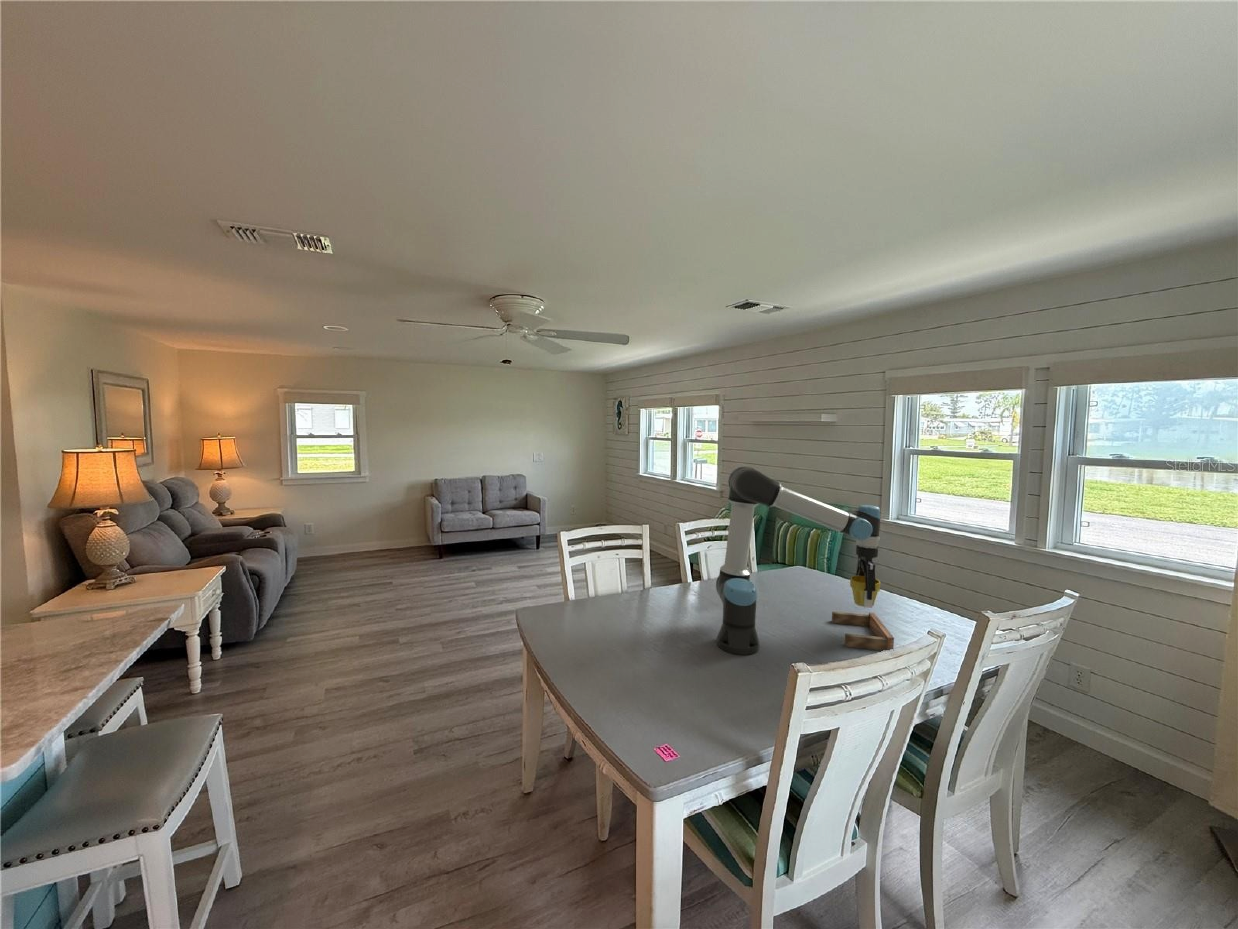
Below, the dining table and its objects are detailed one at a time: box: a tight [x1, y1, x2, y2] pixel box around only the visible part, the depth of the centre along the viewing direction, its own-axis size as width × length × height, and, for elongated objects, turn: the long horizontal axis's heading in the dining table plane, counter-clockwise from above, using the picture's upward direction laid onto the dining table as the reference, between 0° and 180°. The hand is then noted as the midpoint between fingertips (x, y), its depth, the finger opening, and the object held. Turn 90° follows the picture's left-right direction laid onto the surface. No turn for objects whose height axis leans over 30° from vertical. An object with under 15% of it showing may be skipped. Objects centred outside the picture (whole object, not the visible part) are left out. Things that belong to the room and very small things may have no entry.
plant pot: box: [849, 575, 881, 608], centre depth 190 cm, size 10×10×10 cm
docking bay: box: [831, 611, 895, 651], centre depth 191 cm, size 16×24×5 cm, turn 168°
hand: (863, 602), depth 190 cm, fingers closed on plant pot, 10 cm apart
